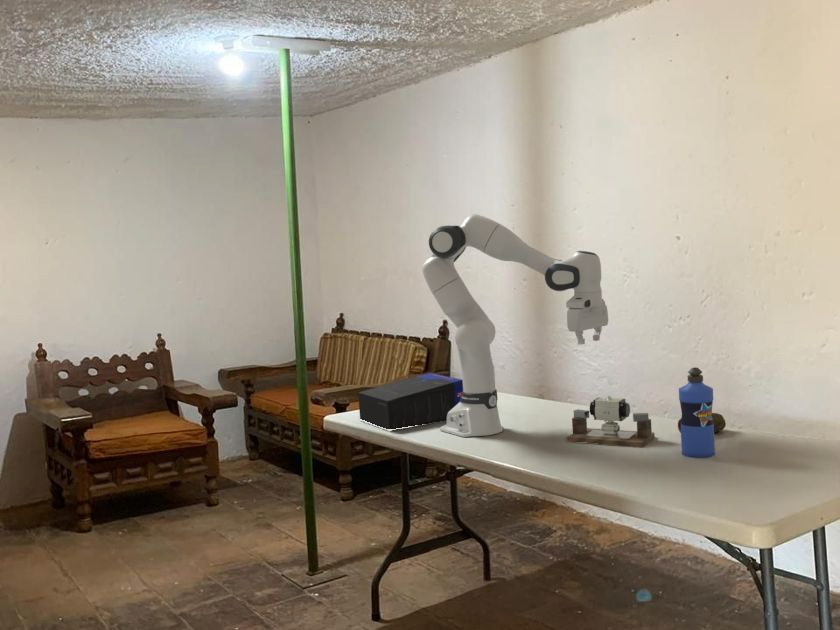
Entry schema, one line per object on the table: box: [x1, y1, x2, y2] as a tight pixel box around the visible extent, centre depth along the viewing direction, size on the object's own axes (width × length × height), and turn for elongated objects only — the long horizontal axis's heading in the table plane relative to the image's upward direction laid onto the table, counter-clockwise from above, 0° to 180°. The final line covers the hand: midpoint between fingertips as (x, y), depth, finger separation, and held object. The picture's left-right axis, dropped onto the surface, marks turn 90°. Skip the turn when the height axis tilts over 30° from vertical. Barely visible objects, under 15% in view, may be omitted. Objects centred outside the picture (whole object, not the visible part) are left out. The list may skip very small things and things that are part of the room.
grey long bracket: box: [573, 408, 649, 439], centre depth 259 cm, size 24×8×7 cm, turn 59°
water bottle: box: [678, 367, 716, 459], centre depth 236 cm, size 9×9×25 cm
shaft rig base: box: [566, 416, 656, 448], centre depth 259 cm, size 24×13×6 cm, turn 59°
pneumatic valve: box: [589, 395, 631, 435], centre depth 258 cm, size 6×12×12 cm, turn 59°
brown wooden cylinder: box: [677, 412, 727, 434], centre depth 258 cm, size 15×7×7 cm, turn 116°
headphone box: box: [357, 372, 463, 429], centre depth 309 cm, size 25×35×14 cm
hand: (588, 342), depth 270 cm, fingers open, 8 cm apart
